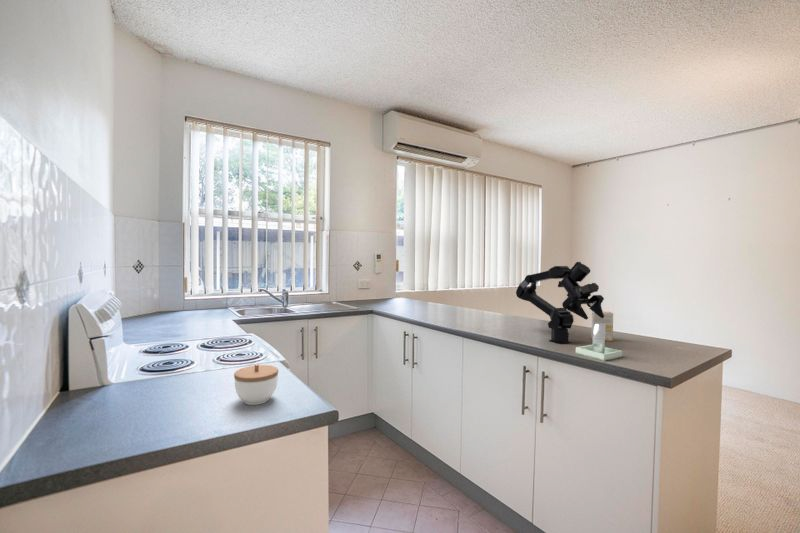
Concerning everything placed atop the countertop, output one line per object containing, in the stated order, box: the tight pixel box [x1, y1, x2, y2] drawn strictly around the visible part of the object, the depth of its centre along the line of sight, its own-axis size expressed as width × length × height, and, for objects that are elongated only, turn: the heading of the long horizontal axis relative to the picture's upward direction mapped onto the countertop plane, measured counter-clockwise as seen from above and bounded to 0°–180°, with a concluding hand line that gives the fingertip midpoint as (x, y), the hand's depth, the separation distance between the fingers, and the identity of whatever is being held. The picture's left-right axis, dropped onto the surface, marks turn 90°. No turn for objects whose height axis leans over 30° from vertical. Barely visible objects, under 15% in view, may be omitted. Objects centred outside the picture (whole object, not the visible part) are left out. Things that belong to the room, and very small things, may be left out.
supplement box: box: [591, 310, 614, 342], centre depth 170 cm, size 8×5×13 cm, turn 71°
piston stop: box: [591, 322, 606, 354], centre depth 143 cm, size 4×4×12 cm
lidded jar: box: [233, 363, 279, 406], centre depth 96 cm, size 11×11×9 cm
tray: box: [575, 344, 623, 362], centre depth 143 cm, size 12×12×2 cm
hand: (595, 318), depth 148 cm, fingers open, 9 cm apart
